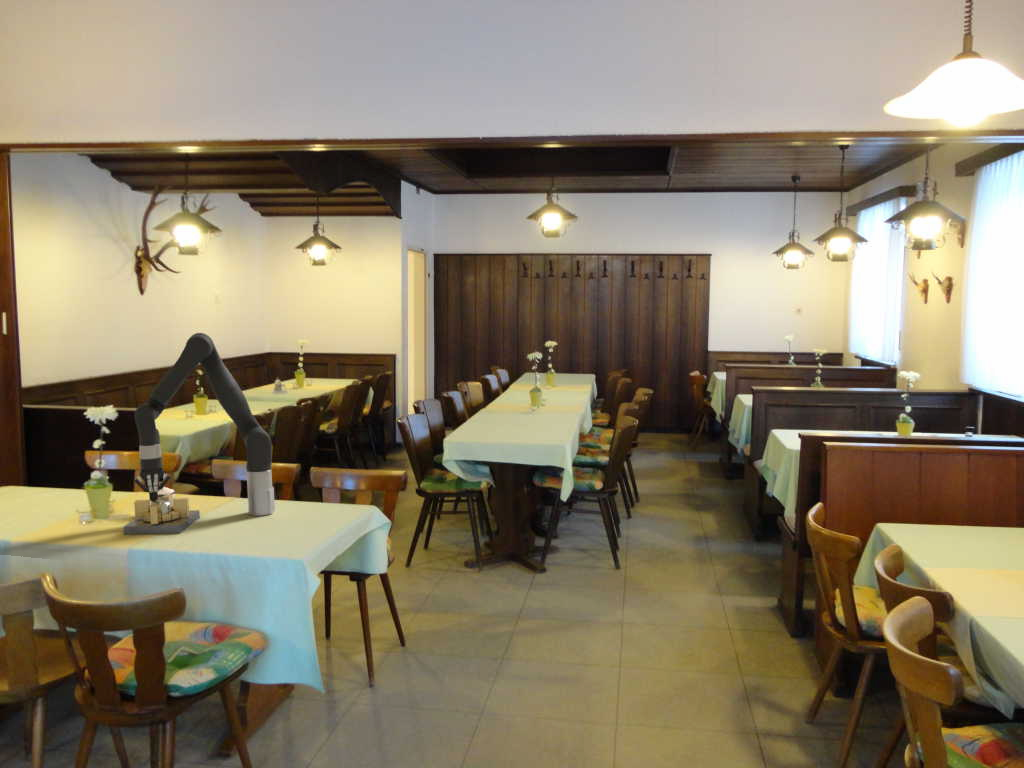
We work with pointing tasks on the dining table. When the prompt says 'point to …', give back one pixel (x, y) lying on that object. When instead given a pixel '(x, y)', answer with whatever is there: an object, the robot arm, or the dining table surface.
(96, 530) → the dining table surface
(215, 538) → the dining table surface
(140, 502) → the tan blocky ring
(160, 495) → the teacup with lid
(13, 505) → the dining table surface
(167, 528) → the gray flat tray
